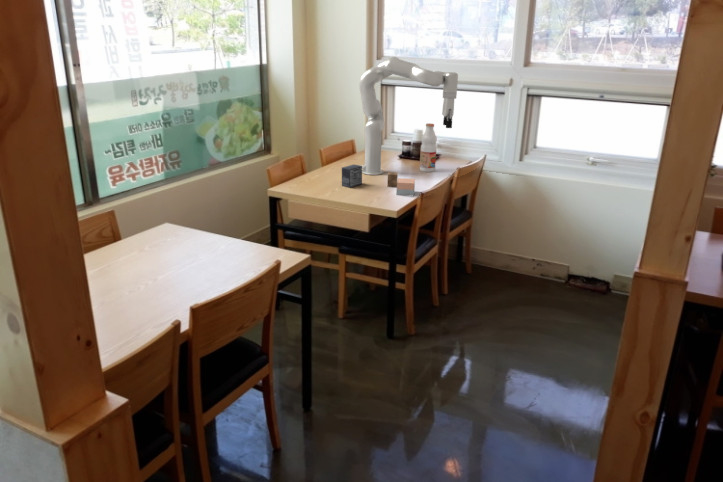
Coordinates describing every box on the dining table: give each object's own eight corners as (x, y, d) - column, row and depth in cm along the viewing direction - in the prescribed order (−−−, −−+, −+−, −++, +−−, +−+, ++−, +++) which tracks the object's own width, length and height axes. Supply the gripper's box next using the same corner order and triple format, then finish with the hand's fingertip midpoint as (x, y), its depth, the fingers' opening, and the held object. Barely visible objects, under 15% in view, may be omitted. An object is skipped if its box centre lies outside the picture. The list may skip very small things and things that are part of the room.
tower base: (396, 195, 309) (396, 189, 308) (397, 190, 317) (397, 184, 316) (413, 196, 308) (413, 190, 307) (414, 191, 316) (414, 185, 315)
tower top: (396, 189, 307) (397, 182, 306) (397, 184, 316) (397, 178, 315) (414, 189, 307) (414, 183, 305) (414, 185, 315) (414, 179, 314)
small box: (353, 182, 331) (353, 163, 327) (362, 184, 327) (362, 165, 323) (340, 185, 323) (341, 167, 320) (350, 188, 319) (350, 169, 316)
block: (387, 186, 323) (387, 174, 321) (388, 184, 328) (388, 172, 326) (396, 187, 323) (397, 174, 320) (397, 185, 327) (397, 172, 325)
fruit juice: (419, 168, 365) (422, 122, 356) (435, 169, 364) (438, 123, 354) (418, 171, 357) (421, 125, 347) (434, 172, 355) (437, 125, 346)
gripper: (440, 93, 336) (438, 123, 342) (445, 97, 320) (443, 129, 326) (453, 93, 337) (451, 124, 343) (459, 97, 320) (456, 129, 326)
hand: (447, 126), depth 334 cm, fingers open, 9 cm apart
